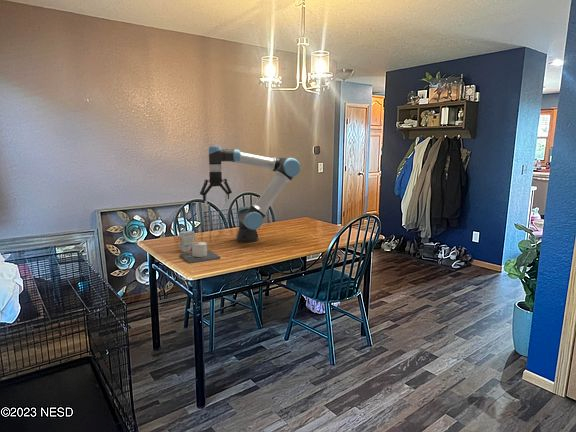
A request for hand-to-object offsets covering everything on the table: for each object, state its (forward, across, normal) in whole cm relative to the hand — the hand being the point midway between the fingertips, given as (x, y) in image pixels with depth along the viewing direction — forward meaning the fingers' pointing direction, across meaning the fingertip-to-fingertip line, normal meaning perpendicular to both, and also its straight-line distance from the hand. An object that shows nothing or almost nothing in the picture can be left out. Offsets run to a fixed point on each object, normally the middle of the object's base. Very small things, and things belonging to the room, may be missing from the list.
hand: (216, 205), depth 246 cm
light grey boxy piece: (+25, +18, +18) cm, 36 cm away
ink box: (+27, +19, -1) cm, 33 cm away
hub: (+27, +18, +18) cm, 37 cm away
